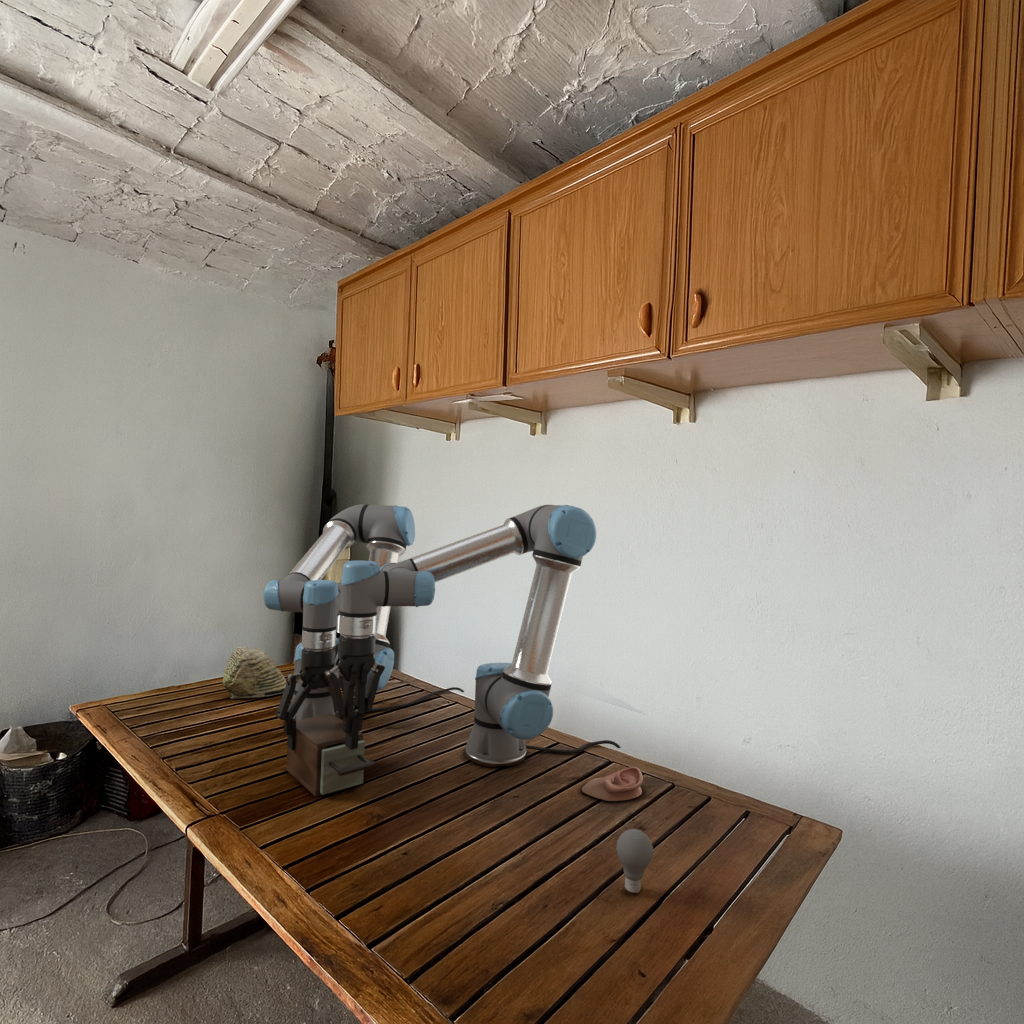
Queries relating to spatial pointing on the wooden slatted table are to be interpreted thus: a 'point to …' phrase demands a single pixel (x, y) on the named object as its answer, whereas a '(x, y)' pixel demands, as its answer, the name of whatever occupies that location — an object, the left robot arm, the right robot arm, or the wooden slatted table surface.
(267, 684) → the fossil
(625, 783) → the anatomical model
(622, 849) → the light bulb
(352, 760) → the drawer
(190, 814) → the wooden slatted table surface
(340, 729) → the cabinet
